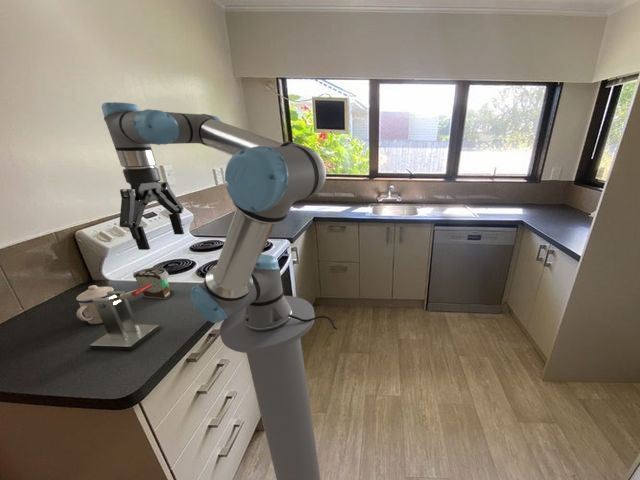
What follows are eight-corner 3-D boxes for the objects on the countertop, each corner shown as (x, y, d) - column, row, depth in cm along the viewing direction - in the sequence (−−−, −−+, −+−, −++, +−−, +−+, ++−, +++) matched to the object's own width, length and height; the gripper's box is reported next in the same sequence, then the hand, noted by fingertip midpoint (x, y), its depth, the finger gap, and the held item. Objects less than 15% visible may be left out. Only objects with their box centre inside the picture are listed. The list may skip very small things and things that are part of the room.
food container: (182, 291, 112) (175, 268, 108) (168, 299, 106) (160, 275, 102) (155, 288, 114) (147, 265, 110) (140, 296, 108) (131, 272, 104)
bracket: (159, 328, 90) (144, 287, 84) (131, 350, 80) (112, 305, 75) (123, 327, 90) (105, 286, 85) (91, 349, 81) (69, 304, 75)
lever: (153, 288, 81) (148, 281, 80) (138, 297, 76) (133, 289, 76) (118, 301, 83) (112, 294, 83) (101, 310, 79) (95, 303, 78)
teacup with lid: (103, 309, 100) (90, 280, 95) (130, 308, 100) (118, 279, 96) (70, 331, 89) (53, 298, 84) (100, 330, 89) (85, 297, 85)
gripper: (161, 163, 89) (180, 228, 97) (79, 172, 66) (112, 256, 74) (185, 163, 89) (201, 229, 97) (109, 172, 66) (140, 257, 74)
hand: (163, 241), depth 86 cm, fingers open, 13 cm apart
